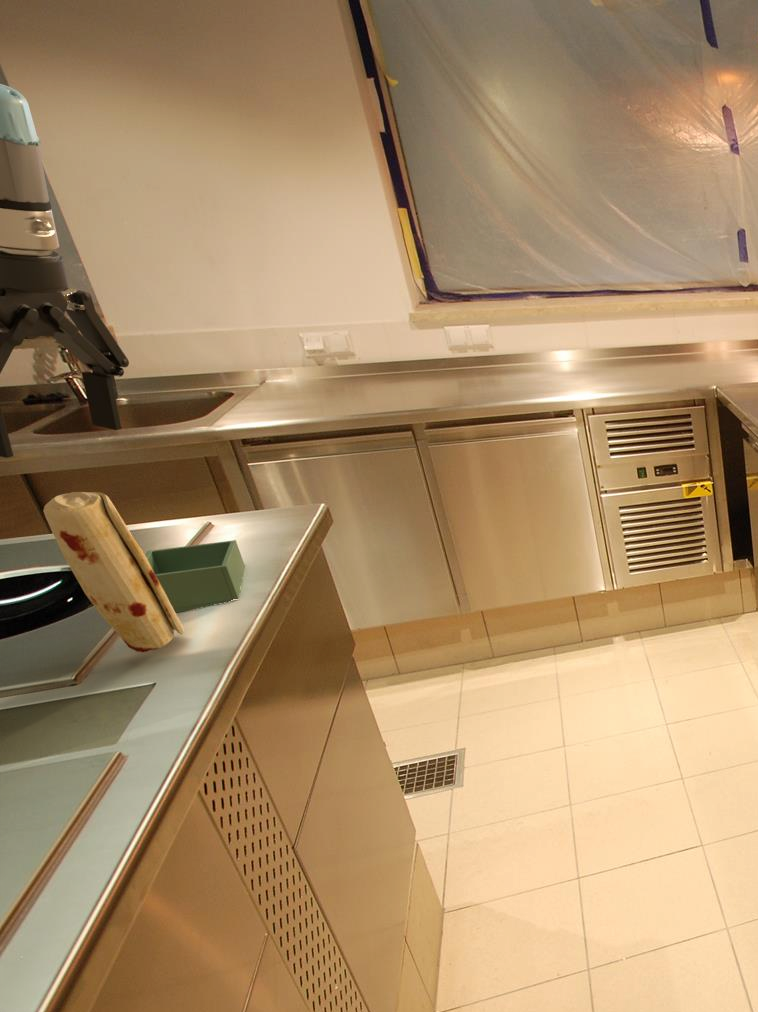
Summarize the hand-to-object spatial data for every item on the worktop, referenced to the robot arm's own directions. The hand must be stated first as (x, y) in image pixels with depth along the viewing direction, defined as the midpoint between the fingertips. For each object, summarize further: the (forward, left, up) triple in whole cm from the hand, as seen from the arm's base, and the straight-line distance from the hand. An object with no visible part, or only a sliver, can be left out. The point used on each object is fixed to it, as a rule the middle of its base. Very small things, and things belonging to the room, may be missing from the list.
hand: (55, 440), depth 98 cm
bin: (+5, +14, -25) cm, 30 cm away
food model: (+2, -3, -26) cm, 26 cm away
